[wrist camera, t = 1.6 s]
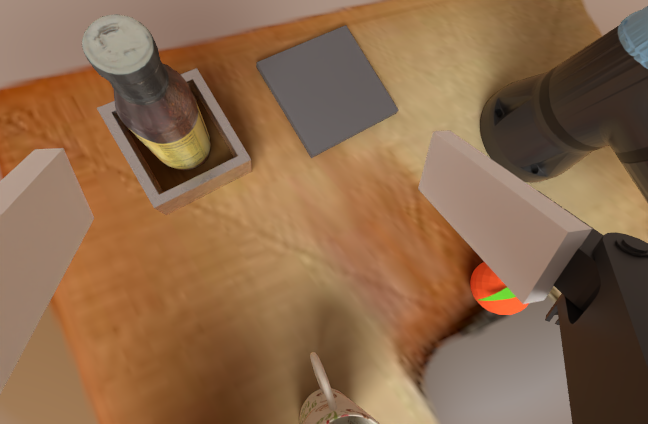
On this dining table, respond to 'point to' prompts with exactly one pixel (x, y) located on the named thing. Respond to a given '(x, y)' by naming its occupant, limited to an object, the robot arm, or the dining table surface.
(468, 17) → the dining table surface
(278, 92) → the rubber mat
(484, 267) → the clementine
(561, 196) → the dining table surface
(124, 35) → the sauce bottle
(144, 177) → the grey shallow open box
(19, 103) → the dining table surface
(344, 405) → the mug
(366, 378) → the dining table surface
